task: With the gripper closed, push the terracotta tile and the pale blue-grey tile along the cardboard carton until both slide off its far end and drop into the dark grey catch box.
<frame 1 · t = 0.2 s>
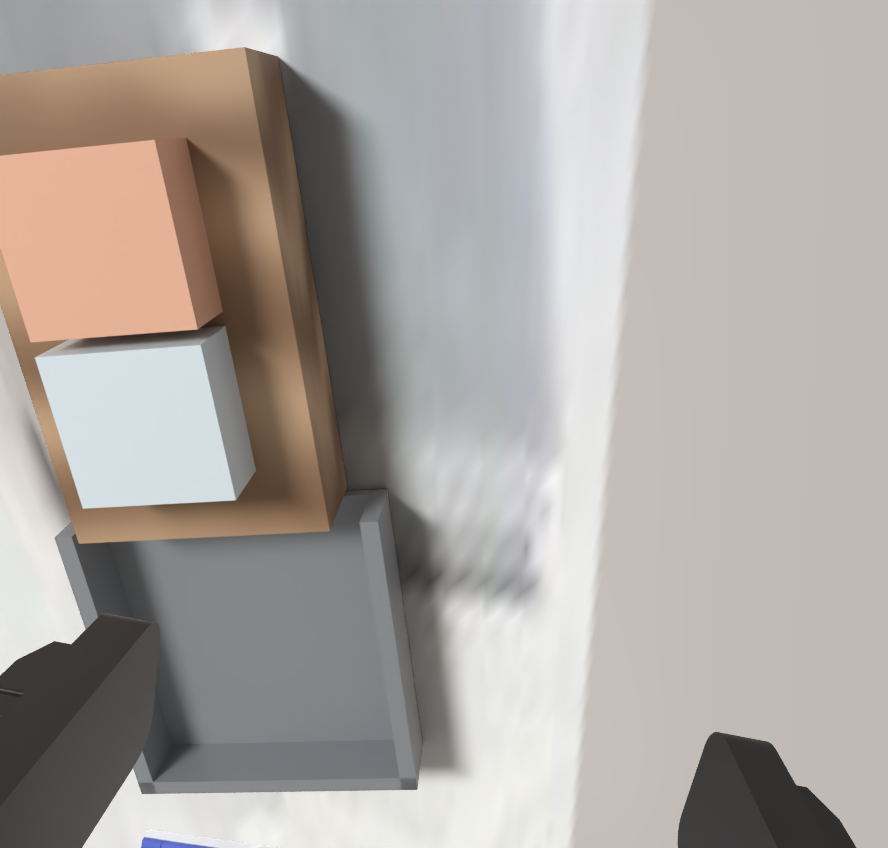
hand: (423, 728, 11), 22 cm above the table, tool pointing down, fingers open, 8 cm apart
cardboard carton: (190, 305, 31), on the table
tile a: (124, 235, 26), point 4 cm above the table, touching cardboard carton
tile b: (167, 406, 29), point 4 cm above the table, touching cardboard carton
catch box: (265, 631, 38), on the table
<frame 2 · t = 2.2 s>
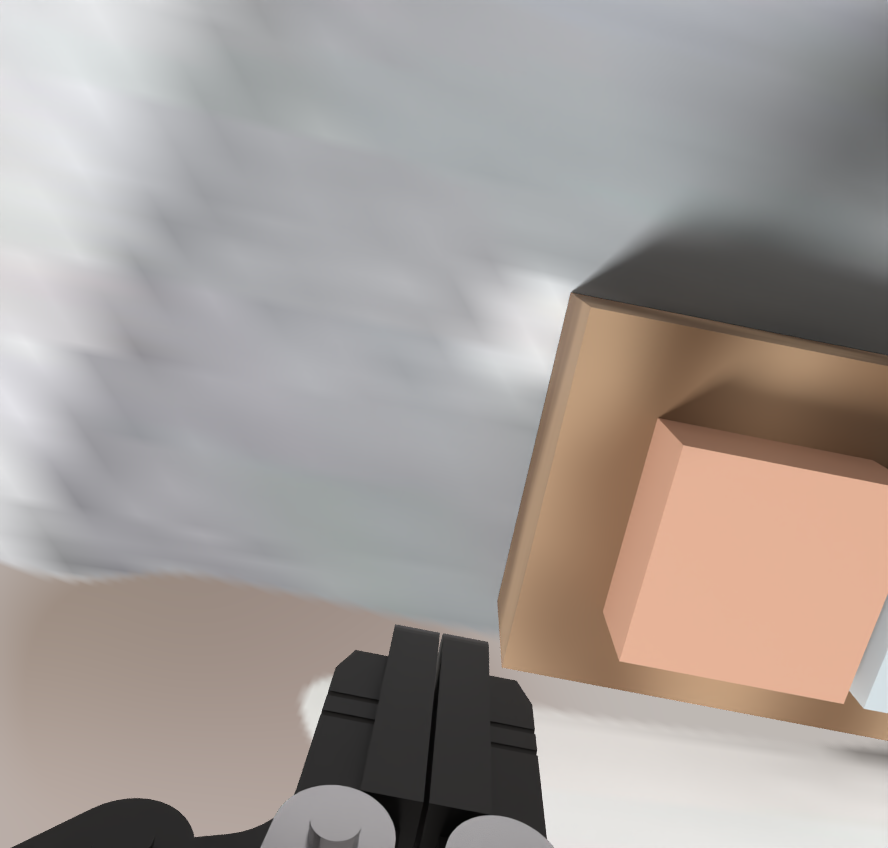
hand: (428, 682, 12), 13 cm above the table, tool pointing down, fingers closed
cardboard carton: (794, 507, 25), on the table
tile a: (732, 538, 21), point 4 cm above the table, touching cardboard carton
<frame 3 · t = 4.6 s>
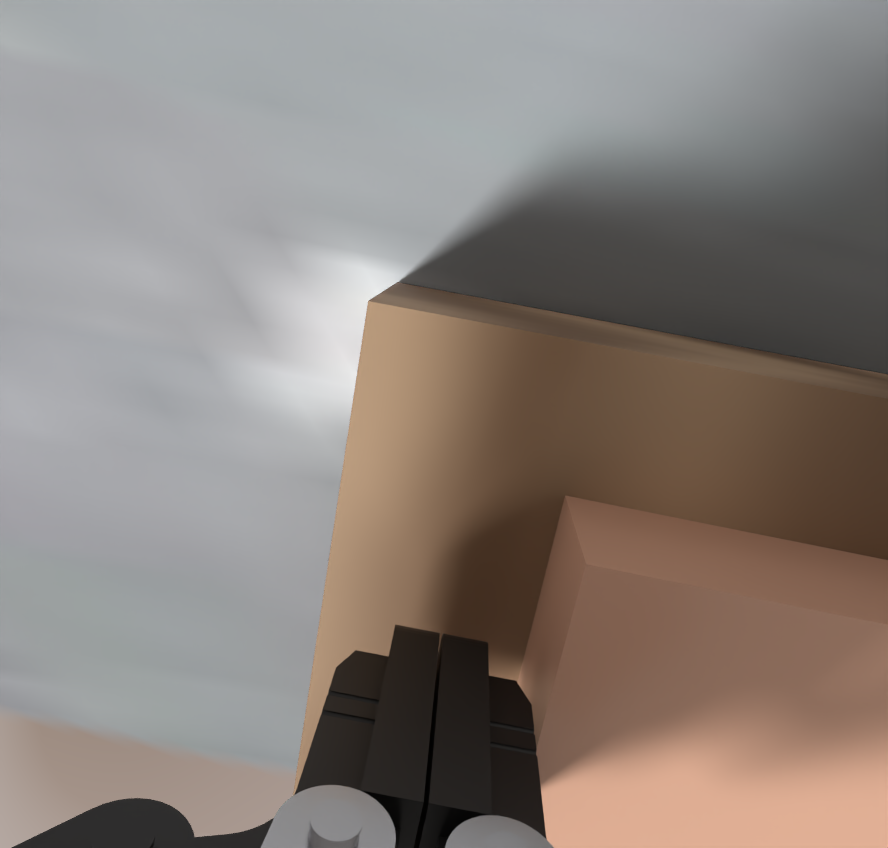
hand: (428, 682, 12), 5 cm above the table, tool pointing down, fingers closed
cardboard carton: (751, 601, 16), on the table
tile a: (695, 690, 13), point 4 cm above the table, touching gripper
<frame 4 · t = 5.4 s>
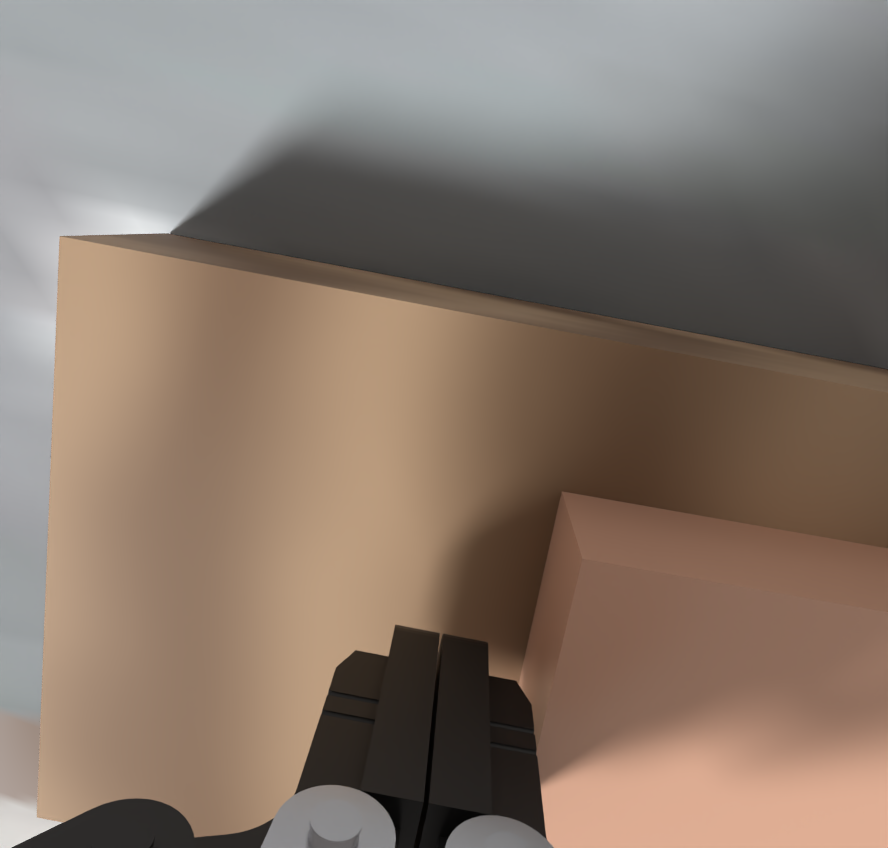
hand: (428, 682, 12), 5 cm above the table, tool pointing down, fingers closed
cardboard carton: (541, 556, 17), on the table
tile a: (697, 682, 13), point 4 cm above the table, touching gripper
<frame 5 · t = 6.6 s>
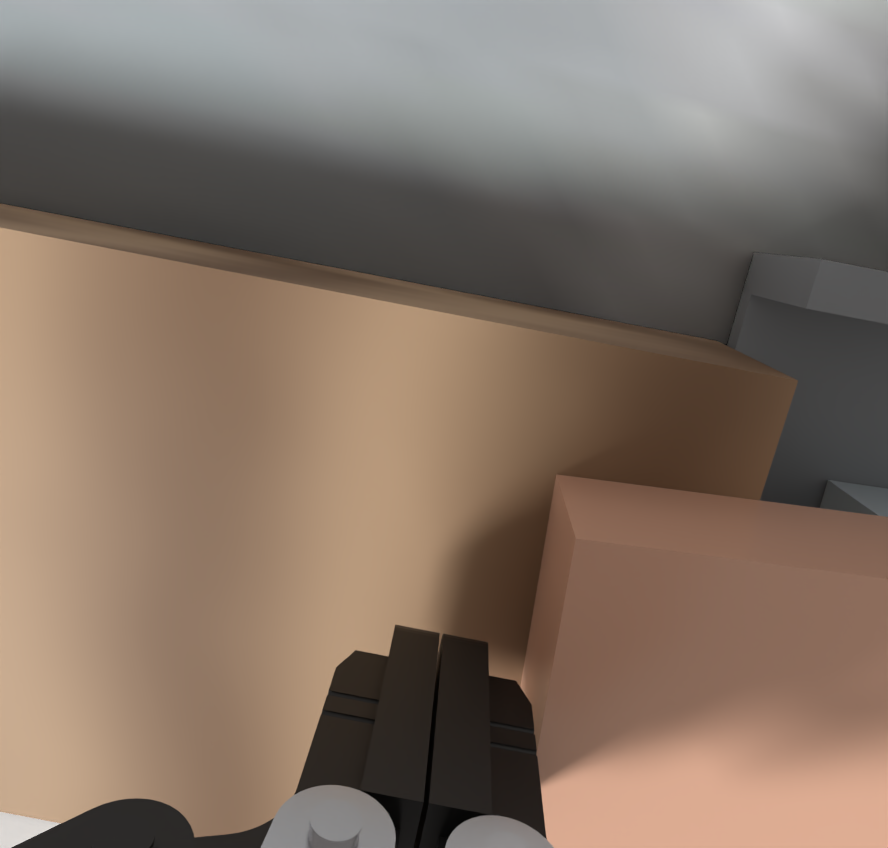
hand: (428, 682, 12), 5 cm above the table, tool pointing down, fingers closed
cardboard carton: (256, 504, 17), on the table
tile a: (702, 661, 13), point 4 cm above the table, touching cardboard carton, gripper
tile b: (861, 693, 13), point 4 cm above the table, tilted 91°, touching catch box
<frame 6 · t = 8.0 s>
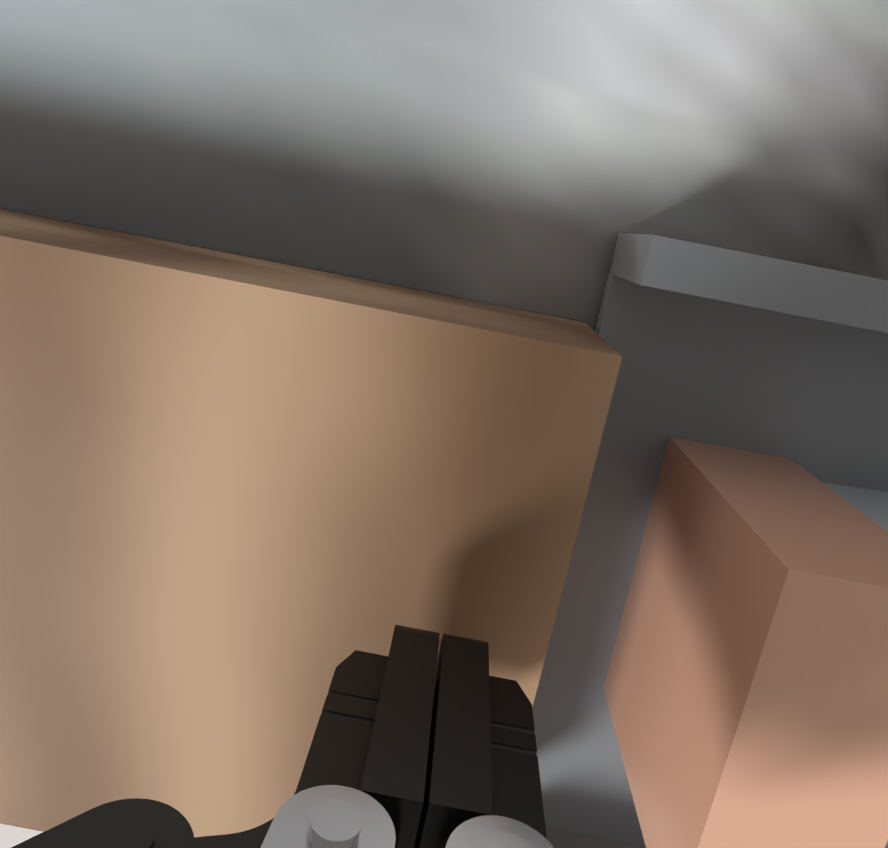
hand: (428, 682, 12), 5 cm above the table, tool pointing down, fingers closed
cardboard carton: (132, 487, 16), on the table
tile a: (669, 645, 13), point 3 cm above the table, tilted 90°, touching catch box
catch box: (879, 629, 16), on the table
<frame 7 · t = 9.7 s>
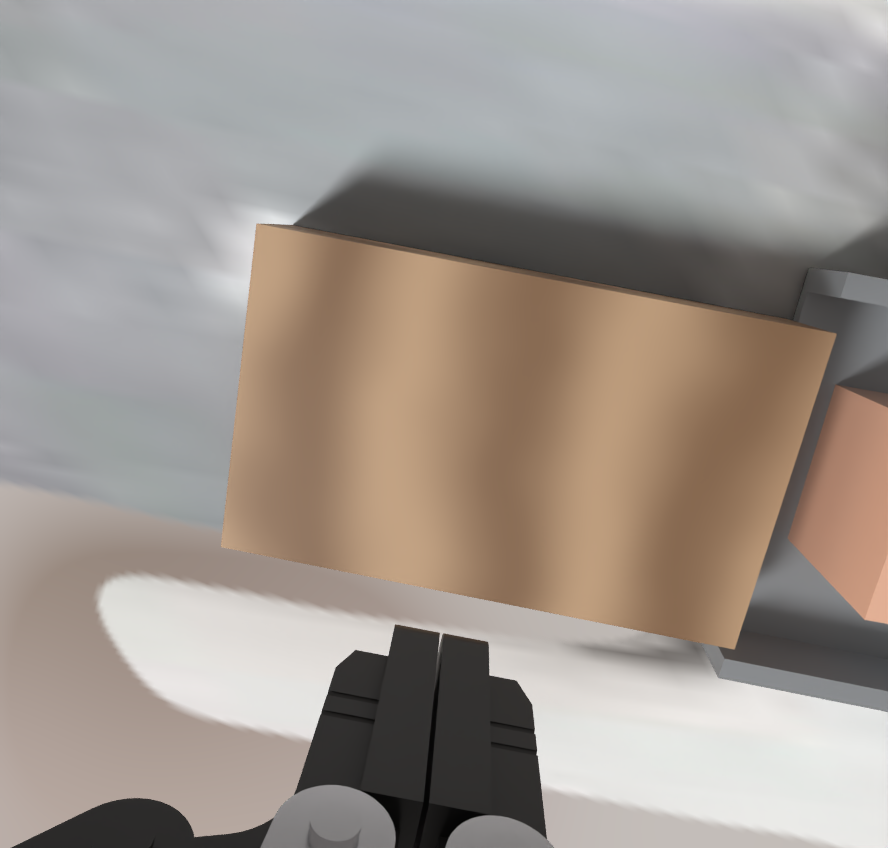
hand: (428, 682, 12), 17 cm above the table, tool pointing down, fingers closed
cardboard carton: (506, 417, 28), on the table
tile a: (848, 491, 24), point 3 cm above the table, tilted 90°, touching catch box
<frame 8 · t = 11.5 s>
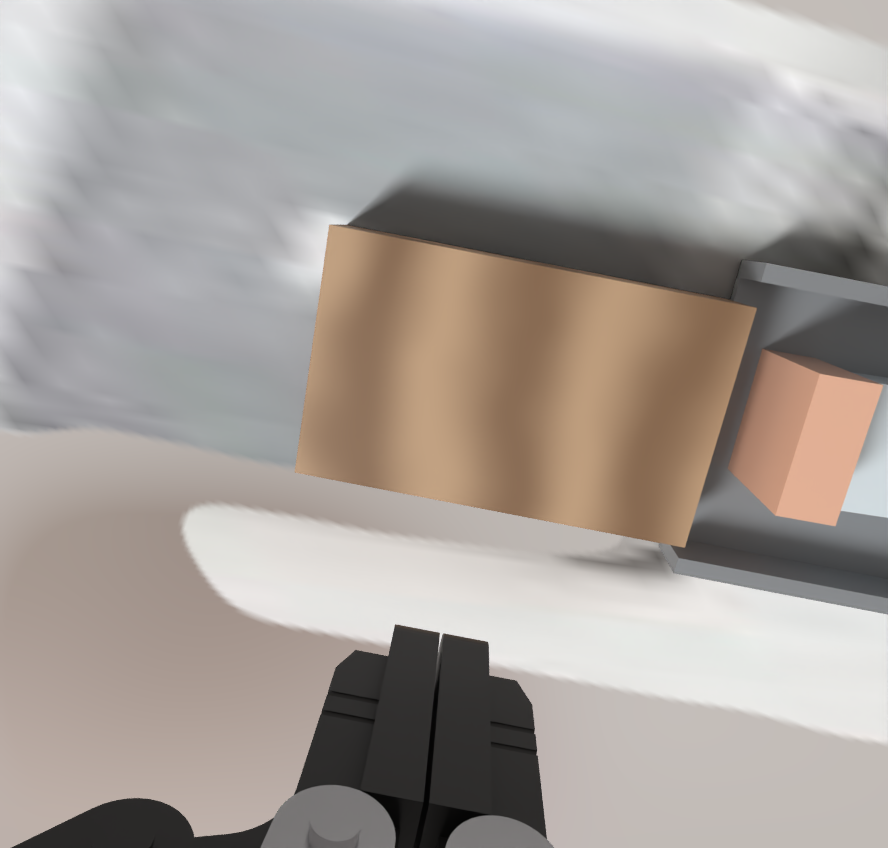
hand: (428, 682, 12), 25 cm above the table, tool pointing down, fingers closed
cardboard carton: (511, 375, 36), on the table
tile a: (768, 426, 32), point 3 cm above the table, tilted 90°, touching catch box
catch box: (855, 441, 36), on the table
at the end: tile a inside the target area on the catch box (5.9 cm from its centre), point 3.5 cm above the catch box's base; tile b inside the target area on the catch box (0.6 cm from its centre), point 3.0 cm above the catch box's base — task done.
